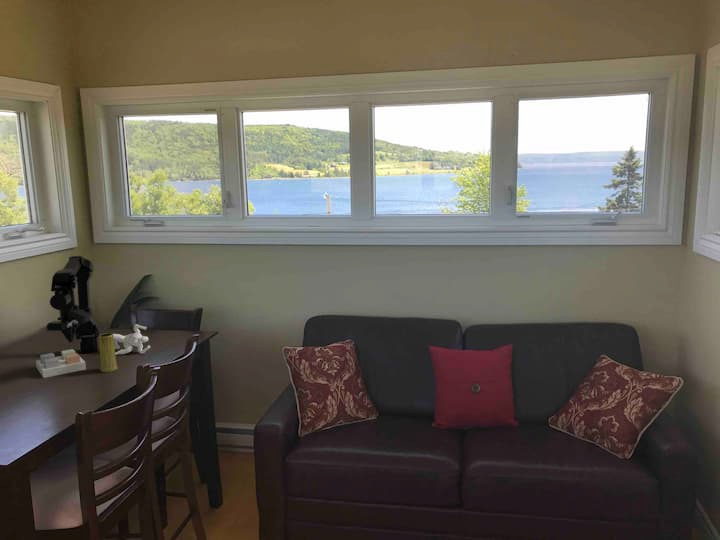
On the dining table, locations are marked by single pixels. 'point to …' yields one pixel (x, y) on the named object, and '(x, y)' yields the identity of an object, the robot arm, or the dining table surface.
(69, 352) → the key sage
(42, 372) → the keypad
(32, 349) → the dining table surface
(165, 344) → the dining table surface
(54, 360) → the key grey
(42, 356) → the key slate
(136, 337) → the person figurine
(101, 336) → the vase
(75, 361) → the key terracotta
